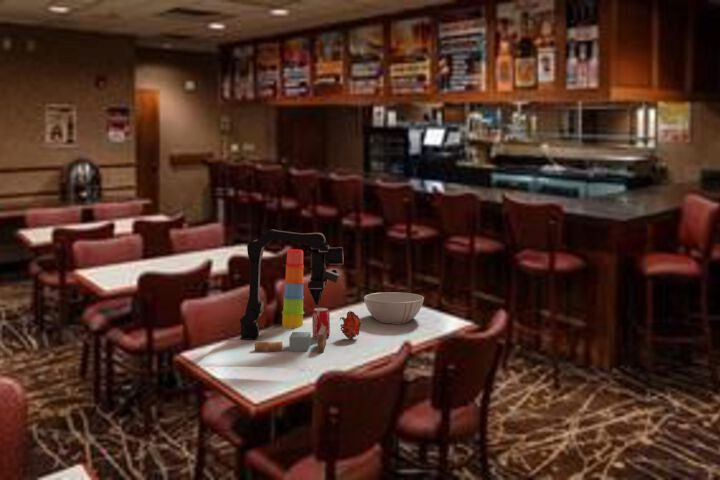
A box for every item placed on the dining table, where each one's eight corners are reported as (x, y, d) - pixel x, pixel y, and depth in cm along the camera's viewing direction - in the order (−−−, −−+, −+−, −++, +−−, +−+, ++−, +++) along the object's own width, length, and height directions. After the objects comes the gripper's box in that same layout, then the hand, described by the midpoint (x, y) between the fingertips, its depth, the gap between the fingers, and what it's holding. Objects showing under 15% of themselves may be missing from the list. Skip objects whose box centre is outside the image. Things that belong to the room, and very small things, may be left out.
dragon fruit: (350, 335, 282) (350, 307, 281) (366, 338, 276) (366, 309, 275) (336, 339, 275) (336, 310, 274) (352, 342, 270) (352, 312, 269)
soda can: (327, 340, 274) (327, 311, 273) (310, 339, 275) (310, 310, 274) (331, 336, 281) (331, 307, 280) (315, 335, 282) (314, 307, 281)
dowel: (254, 352, 256) (254, 342, 256) (256, 349, 260) (256, 340, 259) (281, 352, 256) (280, 343, 256) (282, 349, 259) (282, 340, 259)
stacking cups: (287, 325, 301) (286, 248, 298) (308, 327, 297) (307, 249, 294) (276, 330, 292) (275, 250, 289) (297, 332, 288) (296, 251, 285)
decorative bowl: (426, 330, 291) (426, 302, 290) (363, 330, 292) (363, 302, 291) (421, 317, 318) (421, 292, 317) (364, 317, 318) (364, 292, 317)
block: (289, 351, 257) (289, 337, 256) (292, 345, 266) (292, 332, 266) (307, 351, 257) (307, 337, 256) (310, 345, 266) (310, 332, 265)
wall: (317, 352, 254) (317, 334, 254) (321, 343, 268) (321, 326, 267) (323, 352, 254) (322, 334, 253) (326, 343, 268) (326, 326, 267)
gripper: (336, 267, 263) (336, 307, 264) (339, 261, 281) (339, 298, 283) (307, 267, 263) (308, 306, 264) (312, 261, 282) (313, 298, 283)
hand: (318, 302), depth 274 cm, fingers open, 9 cm apart
